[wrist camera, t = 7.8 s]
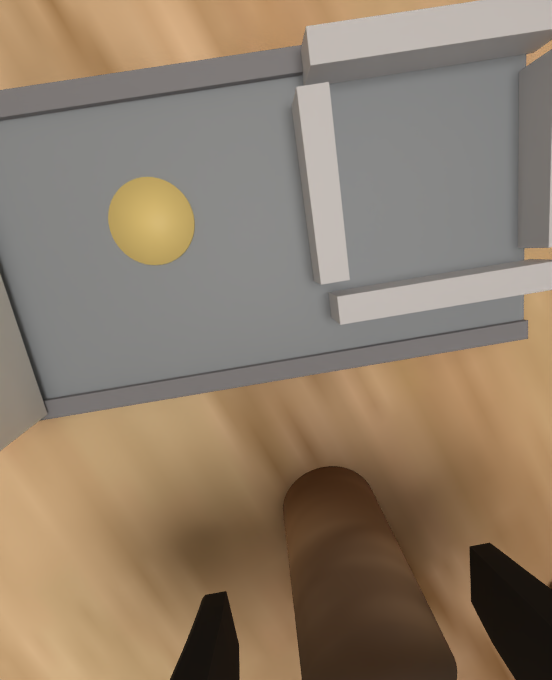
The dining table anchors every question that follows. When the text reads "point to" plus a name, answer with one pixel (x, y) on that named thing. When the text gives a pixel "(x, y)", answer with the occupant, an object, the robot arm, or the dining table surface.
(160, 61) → the dining table surface
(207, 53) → the dining table surface
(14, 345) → the cover
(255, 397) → the dining table surface
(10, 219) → the board
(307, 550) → the peg
